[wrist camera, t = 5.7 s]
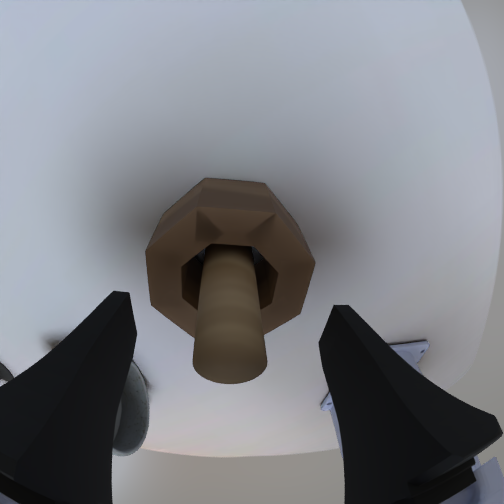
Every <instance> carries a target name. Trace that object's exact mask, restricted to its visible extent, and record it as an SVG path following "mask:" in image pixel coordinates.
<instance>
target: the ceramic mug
mask: <svg viewBox="0 0 504 504" xmlns="http://www.w3.org/2000/svg"><path fill="white" fill-rule="evenodd" d="M148 427H149V400H148V393H147V389H146V385H145V382H144V379H143V377H142V375H141V373H140V371H139V369H138V368H137V366H136V365H135V364H134V362H133V361H132V362H131V365H130V369H129V372H128V376H127V379H126V382H125V386H124V389H123V393H122V396H121V400H120V403H119V407H118V412H117V416H116V423H115V430H114V439H113V451H112V454H113V455H117V456H128V455H131V454H133V453H135V452H136V451H137V450H138V449H139V448H140V447H141V446H142V444H143V442H144V440H145V438H146V434H147V431H148Z"/></svg>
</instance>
